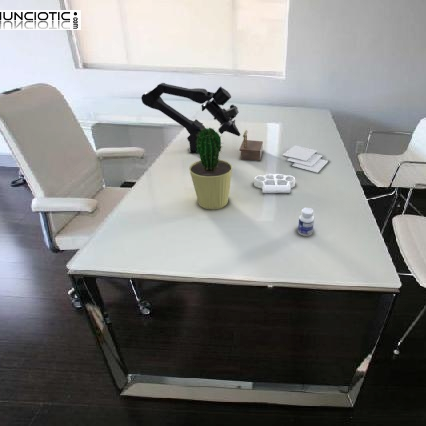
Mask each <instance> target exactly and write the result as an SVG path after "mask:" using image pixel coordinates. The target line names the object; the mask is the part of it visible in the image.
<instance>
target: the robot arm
mask: <svg viewBox="0 0 426 426" xmlns="http://www.w3.org/2000/svg"><path fill="white" fill-rule="evenodd" d="M163 94H166V95H170V96H175V97H179V98H185V99H188V100H190V101H192V102H194V103H197V104H200V105H201V112H205V110H207V112H209V114H210V115H211V116H212V117H213V120H214V121H217V122H218V123H219V126H218V128H217V129H218V130H217V131H219V132H218V133H219V134H221V135H223V134H224V133H225V132H227V133H229V134H233V135H235V136H238V137H240V136H241V132H240V130H239V129H238V127H237V125H236V119H235V118H237V116H238V114H239V109H238V107H237V106H236V105H234V104H230V105H229V108H228V109H226V108H224V107H223V108H222V107H221V106H224V105H225V104H227V102H228V101H229V100H230V99H232V95H231V93H230V92H229V91H228V90H226V89H225V88H224V87H222V86H219V87H218V88H217V90H216V91H215V92H212V91H208V90H207V89H206V88H197V87H196V88H189V87H188V88H187V87H183V86H178V85H175V84H174V85H173V84H169V83H166V82H160V83H159V84H157V85H156V86H155V88H153V89H152V90H148V91H147V92H145V93H143V94H142V95H141V98H140V99H141V102H142V104H143V105H144V106H146V107H148V108H150V109H153V110H157V111H159V112H161V113H162V114H163V115H165V116H166V117H168V118H169V119H172V121H174V122H176V123H177V124H179V125H180V126H181V127H183V128H184V129H185V130H186V131H187V133H188V134H189V135H188V136H187V137H186V139H187V142H188V143H189V153H190V154H196V152H197V154H199V153H198V151H197V148H196V147H197V144H196V143H197V140H198V136H199V134H198V133H201V131H202V130H203V129H202V128H204V129H205V128H206V126H205V125H204V123H203V122H201V121H200V120H198V119H196V118H195V119H194V120H192V119H189V118H188V117H187V116H185V115H184V114H182V113H181V112H180V111H178V110H176V109H175V108H173V107H172V106H170V105H169V104H167V103H166V102H165V101H164V100H163V98H162V97H161V96H162V95H163ZM204 126H205V127H204ZM196 134H197V135H196ZM195 141H196V142H195Z"/></svg>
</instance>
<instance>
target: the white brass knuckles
mask: <svg viewBox="0 0 426 426" xmlns="http://www.w3.org/2000/svg"><path fill="white" fill-rule="evenodd" d="M253 185H254V187H255V188H257V189H261V190H262V193H263V194H290V193H291V191H292V190H291V189H292V188H295V186H296V178H295V176H293V175H285V174H282V173H265V174H262V175H260V174H258V175H256V176H254V178H253Z"/></svg>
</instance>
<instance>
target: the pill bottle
mask: <svg viewBox="0 0 426 426" xmlns="http://www.w3.org/2000/svg"><path fill="white" fill-rule="evenodd" d="M314 223H315V216H314V210H313V208H311V207H303V208H302V209H301V214H299V217H298V225H297V232H298V234H300V235H301V236H303V237H308V236H311V235H312V234H313V231H314Z"/></svg>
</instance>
